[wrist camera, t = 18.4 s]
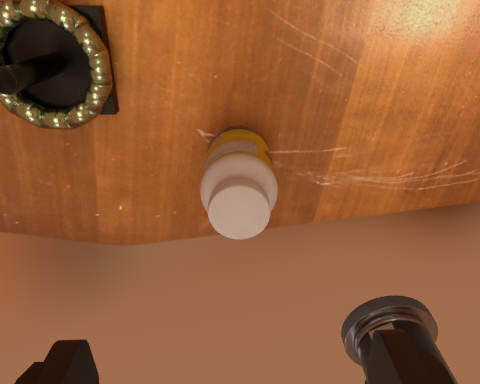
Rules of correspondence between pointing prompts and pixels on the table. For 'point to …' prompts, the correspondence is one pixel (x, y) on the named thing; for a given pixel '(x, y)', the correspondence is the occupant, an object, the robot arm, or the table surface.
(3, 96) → the ring
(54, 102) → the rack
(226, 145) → the pill bottle
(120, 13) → the table surface
